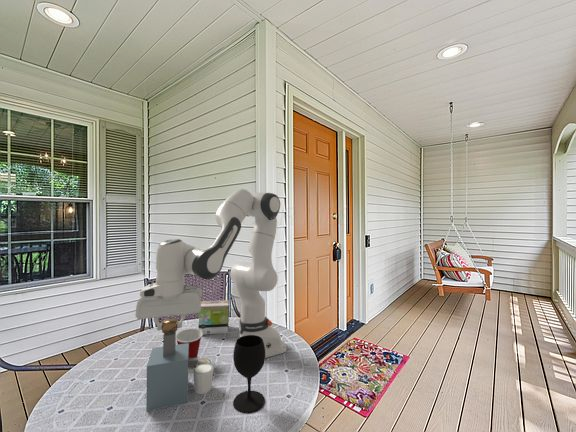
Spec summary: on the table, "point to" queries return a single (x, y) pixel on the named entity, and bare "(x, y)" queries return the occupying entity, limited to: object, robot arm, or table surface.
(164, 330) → the pump plunger
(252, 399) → the wine glass
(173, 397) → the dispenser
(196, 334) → the plastic cup
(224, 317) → the tea box
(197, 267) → the robot arm
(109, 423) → the table surface
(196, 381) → the shot glass
